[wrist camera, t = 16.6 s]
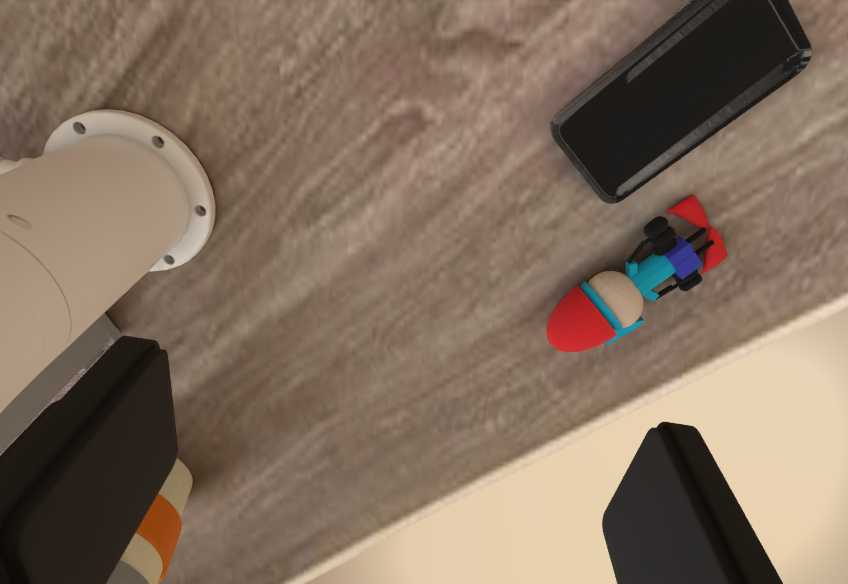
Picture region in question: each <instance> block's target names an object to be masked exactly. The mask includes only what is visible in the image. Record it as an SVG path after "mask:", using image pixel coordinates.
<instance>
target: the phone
mask: <svg viewBox="0 0 848 584" xmlns="http://www.w3.org/2000/svg"><path fill="white" fill-rule="evenodd" d="M811 55H812V48H811V44H810V42H809V40H808V39H807V37H806V35H805V33H804V31H803V29H802V27H801V25H800V23H799V21H798V19H797V17H796V15H795V13H794V11H793V9H792V7H791V5H790V3H789V1H788V0H693V1H692V2H691V3H690V4H688V5H687V6H686V7H685V8H684V9H682V10H681V11H680V12H679V13H678V14H676V15H675V16H674V17H673V18H672V19H670V20H669V21H668V22H667V23H666V24H664V25H663V26H662V27H661V28H660V29H658V30H657V31H656V32H655V33H654V34H652V35H651V36H650V37H649V38H648V39H646V40H645V41H644V42H643V43H642V44H640V45H639V46H638V47H637V48H636V49H634V50H633V51H632V52H631V53H630V54H628V55H627V56H626V57H625V58H624V59H622V60H621V61H620V62H619V63H618V64H616V65H615V66H614V67H613V68H612V69H610V70H609V71H608V72H607V73H606V74H604V75H603V76H602V77H601V78H600V79H598V80H597V81H596V82H595V83H594V84H592V85H591V86H590V87H589V88H588V89H586V90H585V91H584V92H583V93H582V94H580V95H579V96H578V97H577V98H576V99H574V100H573V101H572V102H571V103H570V104H568V105H567V106H566V107H565V108H564V109H562V110H561V111H560V112H559V113H558V114H557V115H556V116H555V117H554V118H553V120H552V122H551V126H550V131H551V135H552V136H553V138H554V140H555V141H556V143H557V144H558V145H559V146H560V148H561V149H562V150H563V151H564V153H565V154H566V155H567V157H568V158H569V159H570V160H571V162H572V163H573V164H574V166H575V167H576V168H577V169H578V171H579V172H580V173H581V175H582V176H583V177H584V178H585V180H586V181H587V182H588V183H589V185H590V186H591V187H592V189H593V190H594V191H595V192H596V194H597V195H598V196H599V198H600V199H601V200H602V201H604V202H606V203H612V204H613V203H618V202H620V201H622V200H624V199H625V198H626V197H628V196H629V195H630V194H632V193H633V192H635V191H636V190H637V189H639V188H640V187H642V186H643V185H644V184H646V183H647V182H649V181H650V180H651V179H653V178H654V177H656V176H657V175H658V174H660V173H661V172H662V171H664V170H665V169H667V168H668V167H669V166H671V165H672V164H674V163H675V162H676V161H678V160H679V159H681V158H682V157H683V156H685V155H686V154H688V153H689V152H690V151H692V150H693V149H694V148H696V147H697V146H699V145H700V144H701V143H703V142H704V141H706V140H707V139H708V138H710V137H711V136H713V135H714V134H715V133H717V132H718V131H720V130H721V129H722V128H724V127H725V126H727V125H728V124H729V123H731V122H732V121H733V120H735V119H736V118H738V117H739V116H740V115H742V114H743V113H745V112H746V111H747V110H749V109H750V108H752V107H753V106H754V105H756V104H757V103H759V102H760V101H761V100H763V99H764V98H765V97H767V96H768V95H770V94H771V93H772V92H774V91H775V90H777V89H778V88H779V87H781V86H782V85H784V84H785V83H786V82H788V81H789V80H791V79H792V78H793V77H795V76H796V75H797V74H799V73H800V72H801V71H802V70H803V69H805V67H806V66H807V64H808V63H809V61H810V58H811Z"/></svg>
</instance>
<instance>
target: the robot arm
mask: <svg viewBox="0 0 848 584" xmlns="http://www.w3.org/2000/svg"><path fill="white" fill-rule="evenodd" d="M161 138H162V139H163V141H164V142H163V141H162V140H161ZM202 206H203V207H204V208H205V209H204V208H203V207H202ZM214 221H215V201H214V195H213V190H212V187H211V185H210V182H209V180H208V177H207V174H206V173H205V171H204V169H203V168H202V166H201V164H200V163H199V161H198V159H197V158H196V157H195V156H194V154H193V153H192V152H191V151H190V150H189V148H188V147H187V146H186V145H185V144H184V143H183V142H182V141H181V140H180V139H178V138H177V137H176V136H175V135H174V134H173V133H172V132H170V131H169V130H167V129H166V128H164V127H162V126H161V125H159V124H158V123H156V122H154V121H152V120H150V119H148V118H145V117H143V116H141V115H138V114H134V113H131V112H127V111H123V110H112V109H102V110H94V111H89V112H86V113H83V114H80V115H76V116H74V117H72V118H71V119H69V120H67V121H65V122H63V123H62V124H61V125H60V126H59V127H58V128H57V129H56V130H55V131H53V133H52V134H51V136H50V138H49V139H48V141H47V143H46V145H45V149H44V152H43V155H42V156H40V157H38V158H35V159H31V158H21V159H20V160H19V161H11V160H9V159H5V158H1V157H0V413H1V412H2V411H3V410H4V409H5V408H6V407H7V406H8V404H9V403H10V402H11V401H12V400H13V399H14V398H15V397H16V396H17V395H18V394H19V393H20V392H21V391H22V390H23V389H24V388H25V387H26V386H27V385H28V384H29V383H30V382H31V381H32V380H33V379H34V378H35V377H36V376H37V375H38V374H39V373H40V372H42V371H43V370H44V369H45V368H46V367H47V366H48V365H49V364H50V363H51V362H52V361H53V360H54V359H55V358H56V357H57V356H58V355H60V354H61V353H62V352H63V351H64V350H65V349H66V348H67V347H68V346H69V345H71V344H72V343H73V342H74V341H75V340H76V339H77V338H78V337H79V336H80V335H81V334H82V333H83V332H84V331H85V330H86V329H87V328H89V327H90V326H91V325H92V324H93V323H94V322H95V321H96V320H97V319H98V318H99V317H100V316H101V315H102V314H103V313H104V312H106V311H107V310H108V309H109V308H110V307H111V306H112V305H113V304H114V303H115V302H116V301H117V300H118V299H119V298H120V297H121V296H122V295H124V294H125V293H126V292H127V291H128V290H129V289H130V288H131V287H132V286H133V285H134V284H135V283H136V282H137V281H138V280H139V279H140V278H142V277H143V276H144V275H145V274H146V273H147V272H148V271H161V270H168V269H171V268H174V267H178V266H180V265H182V264H184V263H185V262H187V261H189V260H190V259H191V258H193V257H194V256H195V255H196V254H197V253H198V252H199V251H200V250H201V249H202V247H203V246H204V245H205V244H206V243H207V241H208V239H209V237H210V235H211V233H212V230H213V226H214ZM177 453H178V445H177V436H176V426H175V417H174V408H173V398H172V389H171V379H170V370H169V361H168V354H167V352H166V350H162V349H160V347H159V344H158V342H157V341H155V340H149V339H143V338H137V337H130V336H122V337H120V338H119V339H118V340H116V341H115V343H114V344H113V345H112V346H111V347H110V348H109V349H108V350H107V351H106V352H105V353H104V354H103V355H102V356H101V357H100V358H99V359H98V361H97V362H96V363H95V364H94V365H93V366H92V367H91V368H90V369H89V370H88V371H87V372H86V373H85V374H84V375H83V376H82V378H81V379H80V380H79V381H78V382H77V383H76V384H75V385H74V386H73V387H72V388H71V389H70V390H69V391H68V392H67V393H66V394H65V396H64V397H63V398H62V399H61V400H58V401H56V402H54V403H52V404H51V405H50V406H48V407H47V408H46V409H45V410H44V411H43V412H42V413H41V414H40V415H39V416H38V417H37V418H36V419H35V420H34V421H33V422H32V423H31V424H30V426H29V427H28V428H27V429H26V430H25V431H24V432H23V433H22V434H21V435H20V436H19V437H18V438H17V439H16V440H15V441H14V442H13V443H12V444H11V445H10V446H9V447H8V448H7V450H6V451H5V452H4V453H3V454H2V455H1V456H0V584H106V583H107V581H108V580H109V578H110V576H111V574H112V573H113V571H114V569H115V568H116V566H117V564H118V562H119V561H120V559H121V557H122V555H123V554H124V552H125V550H126V548H127V547H128V545H129V543H130V542H131V540H132V538H133V536H134V535H135V533H136V531H137V529H138V528H139V526H140V524H141V522H142V521H143V519H144V517H145V516H146V514H147V512H148V510H149V509H150V507H151V505H152V503H153V502H154V500H155V498H156V496H157V495H158V493H159V491H160V490H161V488H162V486H163V484H164V483H165V481H166V479H167V477H168V476H169V474H170V472H171V470H172V469H173V467H174V464H175V462H176V458H177ZM602 527H603V533H604V537H605V541H606V544H607V548H608V551H609V555H610V559H611V562H612V566H613V569H614V573H615V577H616V580H617V584H783V583H782V581H781V579H780V577H779V575H778V573H777V572H776V570H775V568H774V566H773V565H772V563H771V561H770V559H769V557H768V555H767V554H766V552H765V550H764V548H763V546H762V545H761V543H760V541H759V539H758V537H757V536H756V534H755V532H754V530H753V528H752V527H751V525H750V523H749V521H748V519H747V518H746V516H745V514H744V512H743V510H742V508H741V507H740V505H739V503H738V501H737V499H736V498H735V496H734V494H733V492H732V490H731V489H730V487H729V485H728V483H727V481H726V480H725V478H724V476H723V474H722V472H721V471H720V469H719V467H718V465H717V463H716V462H715V460H714V458H713V456H712V454H711V453H710V451H709V449H708V447H707V445H706V443H705V442H704V440H703V438H702V436H701V434H700V433H699V432H698V430H697V429H696V428H695V427H693V426H688V425H683V424H676V423H670V422H662V423H660V424H659V425H658V426H657V427H656V428H651V429H650V430H649V431H648V432H647V434H646V436H645V438H644V440H643V442H642V443H641V445H640V447H639V449H638V451H637V453H636V455H635V457H634V458H633V460H632V462H631V464H630V466H629V468H628V469H627V472H626V473H625V475H624V477H623V479H622V481H621V483H620V484H619V487H618V488H617V490H616V492H615V494H614V496H613V498H612V500H611V501H610V503H609V505H608V507H607V509H606V511H605V513H604V515H603V522H602Z"/></svg>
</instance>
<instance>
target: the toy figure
mask: <svg viewBox="0 0 848 584" xmlns="http://www.w3.org/2000/svg"><path fill="white" fill-rule="evenodd" d="M666 213H672V214H675V215H677V216H679V217H681V218H683V219H685V220H687V221H689V222H690V223H692V224H694V225H696V226H697V227H699V228H701V229H700V230H699V231H697V232H696V233H694V234H693V235H692V236H690V237H689V238H688V239H686V240H684V239H682V238H681V237H677V238H676V239H675V238H674V237H675V230H674V229H673V228H672V227H669V226H668V220H667V219H666V218H665V217H662V216H659V217H656V218H654V219H653V220H652V221H650V222H649V223H648V224H647V225H645V227H644V230H643V231H644V234H645V235H646V236H647V237H649V238H648V239H646V240H645V241H642V242H641V243H640V244H639V246H638V247H637V249H636V250H635V251H634V253H633V254H632V255H631V257H630V258H629V259H628V261H627V262H626V274H623V273H620V272H616V271H605V272H601V273H599V274H597V275H595V276H594V277H593V278H592V279H591V280H590V281H589V282H588V284H587V283H586V282H585V281H584V282H583V284H582V285H581V288H579V287H578V286H576V287H575V288H573V289H572V290H571V291H570V292H569V293H568V294H567V295H566V296H565V297H564V298H563V299H562V300H561V301H560V302H559V304H558V305H557V306H556V308H555V309H554V311H553V312H552V314H551V316H550V319H549V322H548V325H547V338H548V341H549V343H550V344H551V345H552V346H553V347H554V348H556V349H558V350H560V351H564V352H579V351H584V350H588V349H591V348H594V347H597V346H599V345H601V344H604V345H608V344H610V343H612V342H613V341H615V340H617V339H619V338H620V337H622V336H624V335H626V334H627V333H629V332H631V331H633V330H634V329H636V328H638V327H639V326H640V324H641V323H642V322H643V319H642V318H641V317H640V315H641V313H642V309H643V297H645V298H647V299H649V300H651V301H653V302H654V301H655V300H657V299H658V298H660V297H662V296H663V295H665V294H666V293H668V292H670V291H672V290H673V289H675V288H677V287H678V286H679V288H680V289H681V290H682V291H688V290H689V289H691V288H693V287H694V286H696V285H697V284H699V283H700V282H701V281H702V277H701V275H700V274H698V268H699V267H701V266H702V263H701V261H700V260H699V258H698V255H700V254H701V253H702V252H704V251H705V250H706V251H705V260H704V267H703V270H702V272H701V274H703V273H704V272H706V271H708V270H709V269H711V268H712V267H714V266H716V265H717V264H719V263H720V262H721V261H723V260H724V259H725V258H726V257H727V252H726V248H725V246H724V244H723V241H722V238H721V237H720V235H719V233H718V232H717V231H716V230H715V229H714V228H713V227H710V229H709V224H708V220H707V217H706V214H705V212H704V210H703V209H702V207H701V205H700V204H699V202H698V200H697V199H696V197H695V196H694V195H692V196H689V197H688V198H686V199H684V200H682V201H681V202H680V203H678V204H676V205H675V206H674V207H672V208H671V209H669V210H668V211H667V212H666ZM708 229H709V231H708V235H707V242H706V244H705V245H703V246H702V247H701V248H699V249H698V250H697V251H695V252H694V250H693V248H692V247H691V245H690V243H691V242H693V241H694V240H695V239H697V238H698V237H700V236H701V235H702V234H704V233H705V232H706V230H708ZM650 241H651V243H652V245H653V254H652V255H651V256H649V257H648V258H646V259H645V260H644V261H642V262H641V263H640V264H638V265H637V263H636V262H635V261H634V259H635V258H636V256H637V255H638V253H639V252H640V251H641V249H642V248H643V247H644V245H646V244H647V243H648V242H650ZM671 275H672V276H673V278H675V280H676V282H677V283H676V284H675V285H673V286H672V285H669V286H668V287H666V288H665V289H663V290H661V291H660V292H658V293H656V292H655V291H653V290H652V289H653V288H655V287H656V286H657V285H659V284H660V283H661V282H663V281H664V280H666V279H667V278H668V277H670V276H671ZM642 296H643V297H642Z"/></svg>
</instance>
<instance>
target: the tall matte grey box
mask: <svg viewBox="0 0 848 584" xmlns="http://www.w3.org/2000/svg"><path fill="white" fill-rule="evenodd" d="M120 337H122V335H121V333H120V331H119V329H118V328H117V327H115V326H114V324H113V323H112V322H111V320H110V319H109V318H108V316H107V315H106V314H105V313H103V314H102V315H101V316H100V317H99V318H98V319H97V320H96V321H95V322H94V323H93V324H92V325H91V326H90V327H89V328H87V329H86V330H85V331H84V332H83V333H82V334H81V335H80V336H79V337H78V338H77V339H76V340H75V341H74V342H73V343H72V344H71V345H69V346H68V347H67V348H66V349H65V350H64V351H63V352H62V353H61V354H60V355H58V356H57V357H56V358H55V359H54V360H53V361H52V362H51V363H50V364H49V365H48V366H47V367H46V368H45V369H44V370H43V371H42V372H40V373H39V374H38V375H37V376H36V377H35V378H34V379H33V380H32V381H31V382H30V383H29V384H28V385H27V386H26V387H25V388H24V389H23V390H22V391H21V392H20V393H19V394H18V395H17V396H16V397H15V398H14V399H13V400H12V401H11V402H10V403H9V404H8V406H7V407H6V408H5V409H4V410H3V411H2V412H1V413H0V453H1V452H2V451H3V450H4V449H5V448H6V447H7V446H8V445H9V444H10V443H11V442H12V441H13V440H14V439H15V437H16V436H17V435H18V434H19V433H20V432H21V431H22V430H23V429H24V428H25V427H26V426H27V425H28V424H29V423H30V422H31V421H32V420H33V419H34V418H35V417H36V416H37V415H38V414H39V413H40V411H41V410H42V409H43V408H44V407H45V406H46V405H47V404H48V403H49V402H50V401H51V400H52V399H53V398H54V397H55V396H56V395H57V394H58V393H59V392H60V391H61V390H62V389H63V388H64V386H65V385H66V384H67V383H68V382H69V381H70V380H71V379H72V378H73V377H74V376H75V375H76V374H77V373H79V372H83V371H86V370H87V369H88V368H89V367H90V366H91V365H92V364H93V363H94V362H95V360H96V359H97V358H98V357H99V356H100V355H101V354H102V353H103V352H104V351H103V350H102V349H101V348H103V347H106V346H109V345H113V344H114V343H115V341H116V340H118V339H119V338H120Z"/></svg>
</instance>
